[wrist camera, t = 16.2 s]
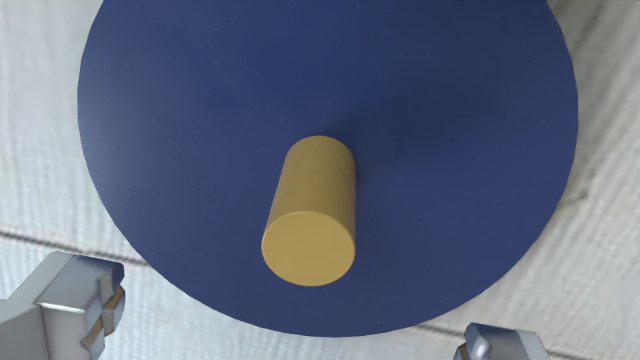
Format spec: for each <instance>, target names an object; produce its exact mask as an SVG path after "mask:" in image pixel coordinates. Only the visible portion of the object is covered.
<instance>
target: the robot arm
mask: <svg viewBox="0 0 640 360" xmlns="http://www.w3.org/2000/svg"><path fill="white" fill-rule="evenodd" d="M123 278H124V265H122V264H121V263H118V262H113V261H108V260H103V259H98V258H93V257H87V256H82V255H74V254H69V253H64V252H59V251H55V252H52V253H50V254H49V255H48V256H47V257H46V258H45V259H44V260H43V261H42V262H41V263H40V264H39V266H38V267H37V268H36V269H35V270H34V271H33V272H32V273H31V274H30V275H29V276H28V277H27V279H26V280H25V281H24V282H23V283H22V284H21V285H20V286H19V287H18V288H17V289H16V291H15V292H14V293H13V294H12V295H11V296H10V297H9V298H8V299H7V300H3V299H0V360H98V359H99V357H100V355H101V354H102V352H103V350H104V348H105V340H104V337H106V336H108V335H109V334H111V333H113V332H114V331H115V329H116V328H117V326H118V324H119V322H120V320H121V317H122V314H123V311H124V306H125V290H124V289H123V288H122V287H121V285H120V283H121V281H122V280H123ZM464 336H465V340H466V342H465V343H464V344H462V345H460V346H459V347H458V348H457V350H456V353H455V355H454V359H453V360H550V358H549V356H548V354H547V352H546V350H545V348H544V345H543V343H542V341H541V339H540V337H539V336H538V335H537V334H536V333H535V332H530V331H524V330H517V329H509V328H503V327H497V326H491V325H485V324H478V323H470V324H469V325H468V326H467V328H466V331H465V333H464Z"/></svg>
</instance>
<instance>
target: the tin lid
mask: <svg viewBox="0 0 640 360" xmlns="http://www.w3.org/2000/svg"><path fill="white" fill-rule="evenodd" d="M77 90H78V124H79V130H80V137H81V144H82V149H83V153H84V156H85V159H86V163H87V166H88V170H89V173H90V176H91V178H92V181H93V183H94V185H95V188H96V190H97V192H98V194H99V197H100V199H101V201H102V203H103V205H104V206H105V208H106V210H107V211H108V213H109V215H110V216H111V218H112V220H113V222H114V223H115V225H116V226H117V227H118V229H119V230H120V231H121V233H122V234H123V235H124V237H125V238H126V239H127V241H128V242H129V243H130V245H131V246H132V247H133V248H134V249H135V250H136V251H137V252H138V253H139V254H140V255H141V256H142V258H143V259H144V260H145V261H146V262H147V263H148V264H149V265H150V266H151V267H153V268H154V269H155V270H156V271H157V272H158V273H160V274H161V275H162V276H163V277H164V278H165V279H167V280H168V281H169V282H170V283H172V284H173V285H175V286H176V287H177V288H179V289H180V290H182V291H183V292H185V293H186V294H188V295H189V296H190V297H192V298H194V299H196V300H198V301H199V302H201V303H203V304H205V305H207V306H208V307H210V308H212V309H214V310H216V311H218V312H221V313H223V314H225V315H228V316H230V317H232V318H234V319H237V320H240V321H243V322H246V323H249V324H252V325H255V326H258V327H261V328H266V329H270V330H274V331H279V332H283V333H289V334H296V335H304V336H314V337H355V336H365V335H372V334H379V333H386V332H390V331H394V330H398V329H403V328H407V327H411V326H413V325H416V324H419V323H422V322H425V321H428V320H431V319H434V318H436V317H438V316H440V315H442V314H444V313H447V312H449V311H451V310H453V309H455V308H457V307H459V306H461V305H462V304H464V303H466V302H467V301H469V300H471V299H472V298H474V297H476V296H477V295H479V294H481V293H482V292H483V291H485V290H486V289H487V288H489V287H490V286H491V285H493V284H494V283H495V282H496V281H498V280H499V279H500V278H502V277H503V276H504V275H505V274H506V273H507V272H508V271H509V270H510V269H511V268H512V267H513V266H514V265H515V264H516V263H517V262H518V261H519V260H520V259H521V258H522V257H523V256H524V255H525V253H526V252H527V251H528V250H529V249H530V247H531V246H532V245H533V244H534V242H535V241H536V240H537V239H538V237H539V236H540V234H541V233H542V231H543V229H544V228H545V226H546V225H547V223H548V221H549V220H550V218H551V217H552V215H553V213H554V211H555V209H556V207H557V205H558V202H559V200H560V198H561V196H562V193H563V191H564V189H565V187H566V183H567V180H568V176H569V173H570V170H571V166H572V163H573V159H574V153H575V146H576V139H577V132H578V93H577V88H576V82H575V76H574V70H573V64H572V60H571V57H570V54H569V51H568V48H567V45H566V42H565V39H564V36H563V33H562V30H561V28H560V26H559V24H558V22H557V20H556V18H555V16H554V15H553V13H552V11H551V9H550V7H549V5H548V3H547V1H546V0H103V3H102V5H101V7H100V9H99V11H98V13H97V15H96V17H95V19H94V22H93V24H92V26H91V28H90V32H89V35H88V39H87V42H86V45H85V49H84V52H83V56H82V60H81V67H80V75H79V82H78V89H77Z"/></svg>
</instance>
